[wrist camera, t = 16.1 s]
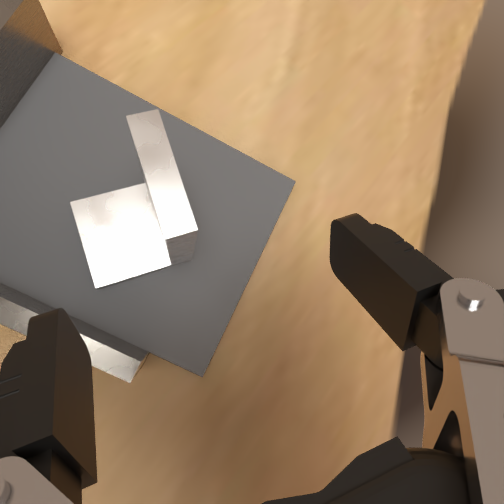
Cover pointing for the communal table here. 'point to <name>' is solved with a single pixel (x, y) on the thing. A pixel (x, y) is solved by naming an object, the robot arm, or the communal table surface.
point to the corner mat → (118, 177)
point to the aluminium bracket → (139, 214)
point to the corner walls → (3, 104)
